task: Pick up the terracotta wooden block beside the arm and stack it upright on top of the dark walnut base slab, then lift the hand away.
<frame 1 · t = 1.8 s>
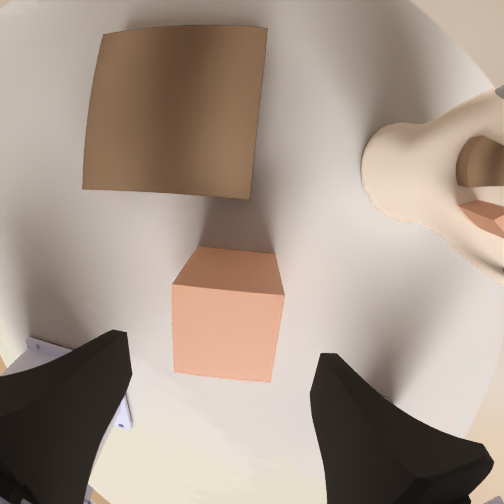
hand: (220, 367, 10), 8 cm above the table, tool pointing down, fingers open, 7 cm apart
terracotta block: (233, 285, 18), on the table
beer glass: (403, 172, 16), on the table
walnut base: (180, 113, 16), on the table
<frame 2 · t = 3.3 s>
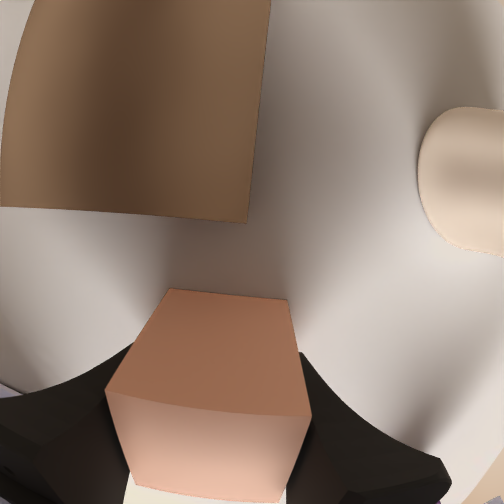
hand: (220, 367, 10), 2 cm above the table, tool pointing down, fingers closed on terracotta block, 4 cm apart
terracotta block: (224, 344, 12), on the table, touching gripper
beer glass: (468, 177, 10), on the table
walnut base: (142, 85, 10), on the table
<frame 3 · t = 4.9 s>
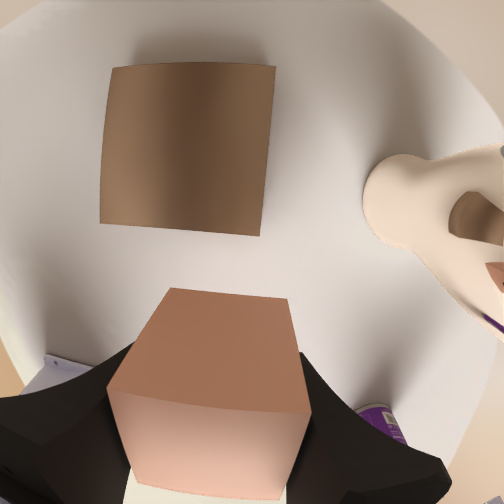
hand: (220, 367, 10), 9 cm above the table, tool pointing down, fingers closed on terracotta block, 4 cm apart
terracotta block: (224, 343, 12), point 7 cm above the table, touching gripper
beer glass: (402, 200, 18), on the table
walnut base: (191, 146, 17), on the table
container: (366, 419, 23), on the table
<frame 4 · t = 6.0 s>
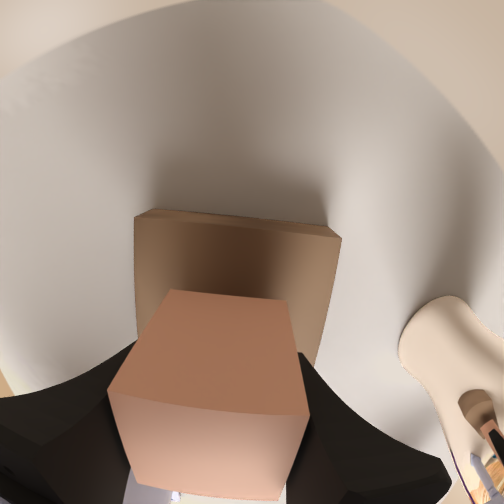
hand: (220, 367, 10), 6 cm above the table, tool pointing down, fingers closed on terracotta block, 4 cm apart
terracotta block: (224, 344, 12), point 4 cm above the table, touching gripper
beer glass: (434, 334, 17), on the table
walnut base: (232, 296, 17), on the table
when the fingers open (6 cm above the table, at t = 6.8 s): terracotta block drops 2 cm, resting on walnut base.
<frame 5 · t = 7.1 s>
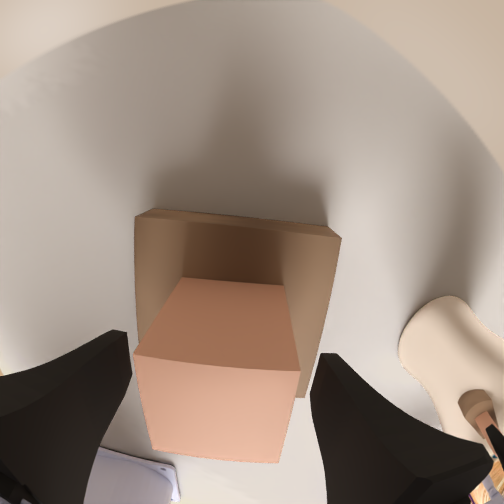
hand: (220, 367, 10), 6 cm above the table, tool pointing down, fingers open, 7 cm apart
terracotta block: (229, 326, 14), point 3 cm above the table, touching walnut base
beer glass: (434, 334, 17), on the table
walnut base: (232, 295, 17), on the table, touching terracotta block
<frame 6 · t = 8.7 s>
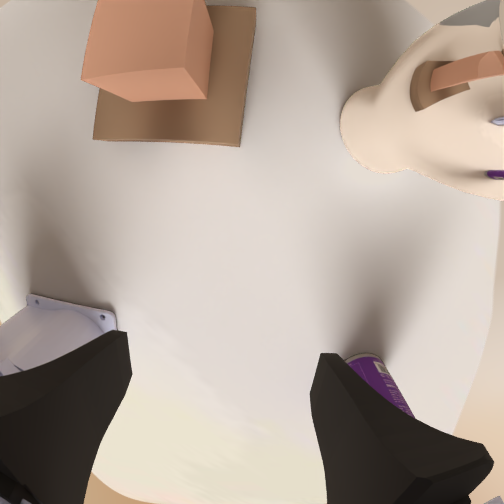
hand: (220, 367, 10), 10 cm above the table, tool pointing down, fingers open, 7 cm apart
terracotta block: (171, 64, 14), point 3 cm above the table
beer glass: (380, 129, 18), on the table
walnut base: (181, 79, 17), on the table
container: (357, 373, 23), on the table
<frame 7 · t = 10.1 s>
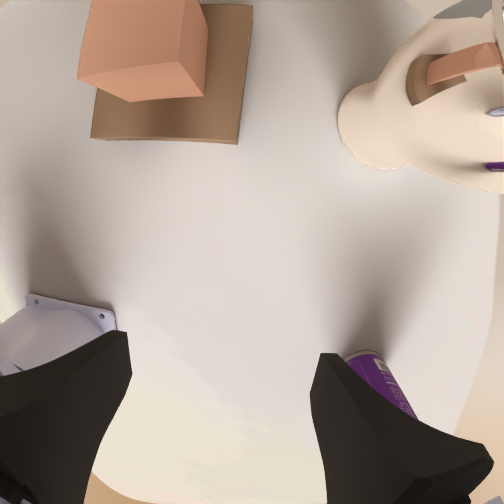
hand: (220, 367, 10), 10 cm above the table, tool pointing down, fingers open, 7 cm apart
terracotta block: (168, 63, 14), point 3 cm above the table
beer glass: (377, 126, 18), on the table
walnut base: (178, 78, 17), on the table
container: (358, 371, 23), on the table
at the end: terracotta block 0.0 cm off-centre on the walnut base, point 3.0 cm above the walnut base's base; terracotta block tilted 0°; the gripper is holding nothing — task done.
